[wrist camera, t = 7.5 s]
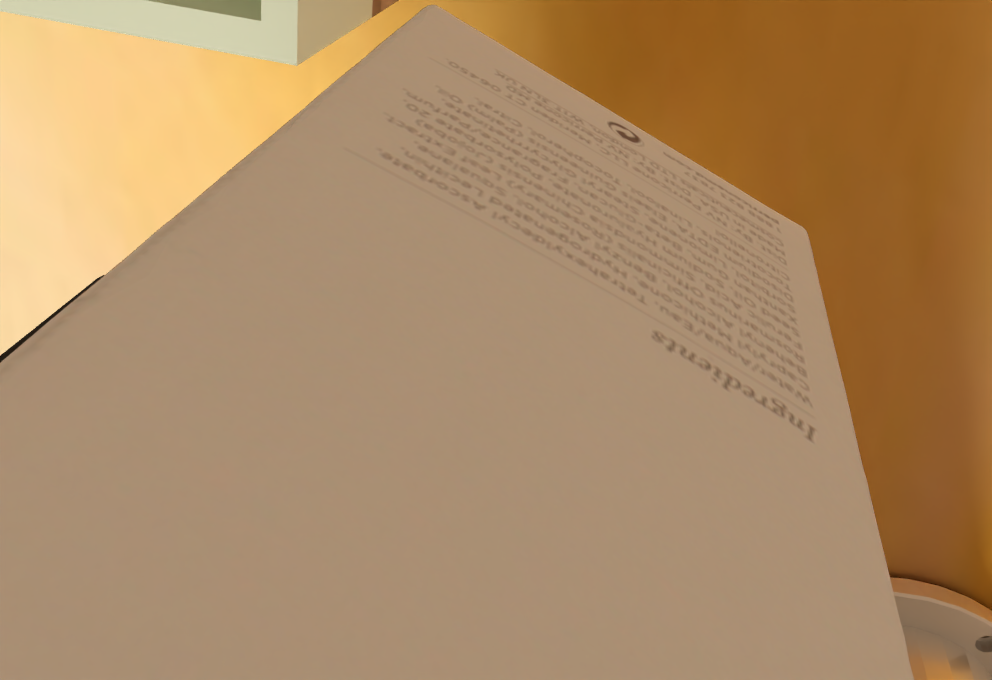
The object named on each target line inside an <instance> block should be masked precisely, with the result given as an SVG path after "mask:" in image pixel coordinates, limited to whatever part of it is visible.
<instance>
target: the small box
mask: <svg viewBox="0 0 992 680" xmlns="http://www.w3.org/2000/svg"><path fill="white" fill-rule="evenodd" d="M0 680H914V677H913V674H912V670H911V666H910V662H909V657H908V652H907V647H906V641H905V636H904V633H903V629H902V625H901V622H900V618H899V614H898V610H897V606H896V602H895V597H894V593H893V589H892V584H891V580H890V576H889V572H888V567H887V563H886V559H885V555H884V551H883V547H882V543H881V538H880V534H879V530H878V526H877V522H876V518H875V514H874V509H873V505H872V500H871V496H870V492H869V487H868V483H867V479H866V475H865V472H864V468H863V465H862V461H861V456H860V452H859V448H858V443H857V439H856V435H855V430H854V426H853V421H852V417H851V413H850V408H849V404H848V400H847V395H846V391H845V387H844V383H843V379H842V375H841V371H840V367H839V363H838V358H837V354H836V350H835V346H834V342H833V338H832V334H831V330H830V325H829V321H828V317H827V312H826V308H825V304H824V300H823V296H822V292H821V288H820V284H819V279H818V274H817V269H816V266H815V262H814V257H813V252H812V248H811V244H810V240H809V237H808V233H807V231H806V230H805V229H804V228H803V227H802V226H800V225H798V224H797V223H795V222H793V221H791V220H790V219H788V218H786V217H785V216H783V215H781V214H779V213H778V212H776V211H774V210H773V209H771V208H769V207H767V206H766V205H764V204H763V203H761V202H759V201H758V200H756V199H754V198H753V197H751V196H750V195H748V194H746V193H745V192H743V191H741V190H740V189H738V188H737V187H735V186H733V185H732V184H730V183H728V182H727V181H725V180H724V179H722V178H720V177H719V176H717V175H715V174H714V173H712V172H710V171H709V170H707V169H705V168H704V167H702V166H700V165H699V164H697V163H696V162H694V161H692V160H691V159H689V158H687V157H686V156H684V155H682V154H681V153H679V152H677V151H676V150H674V149H673V148H671V147H669V146H668V145H666V144H664V143H663V142H661V141H659V140H658V139H656V138H654V137H653V136H651V135H650V134H648V133H646V132H645V131H643V130H641V129H640V128H638V127H636V126H635V125H633V124H632V123H630V122H628V121H627V120H625V119H623V118H622V117H620V116H618V115H617V114H615V113H614V112H612V111H610V110H609V109H607V108H605V107H604V106H602V105H600V104H599V103H597V102H596V101H594V100H592V99H591V98H589V97H587V96H586V95H584V94H582V93H581V92H579V91H577V90H576V89H574V88H572V87H571V86H569V85H567V84H566V83H564V82H562V81H560V80H559V79H557V78H555V77H554V76H552V75H550V74H549V73H547V72H545V71H544V70H542V69H541V68H539V67H537V66H536V65H534V64H532V63H531V62H529V61H527V60H526V59H524V58H523V57H521V56H519V55H518V54H516V53H514V52H513V51H511V50H509V49H508V48H506V47H505V46H503V45H501V44H500V43H498V42H496V41H495V40H493V39H491V38H490V37H488V36H486V35H485V34H483V33H481V32H480V31H478V30H476V29H475V28H473V27H471V26H470V25H468V24H466V23H465V22H463V21H461V20H460V19H458V18H456V17H455V16H453V15H452V14H450V13H449V12H447V11H445V10H444V9H442V8H440V7H438V6H436V5H429V6H427V7H425V8H423V9H422V10H421V11H420V12H419V13H418V14H417V15H415V16H414V17H413V18H412V19H410V20H409V21H408V22H407V23H405V24H404V25H403V26H402V27H401V28H399V29H398V30H397V31H395V32H394V33H393V34H392V35H390V36H389V37H388V38H387V39H386V40H384V41H383V42H382V43H381V44H379V45H378V46H377V47H376V48H375V49H374V50H373V51H371V52H370V53H369V54H368V55H367V56H366V57H365V58H363V59H362V60H361V61H360V62H358V63H357V64H356V65H355V66H354V67H352V68H351V69H350V70H349V71H347V72H346V73H345V74H344V75H342V76H341V77H340V78H339V79H338V80H336V81H335V82H334V83H333V84H332V85H330V86H329V87H328V88H327V89H326V90H325V91H323V92H322V93H321V94H320V95H319V96H318V97H316V98H315V99H314V100H313V101H312V102H311V103H309V104H308V105H307V106H306V107H305V108H304V109H303V110H302V111H300V112H299V113H298V114H297V115H296V116H294V117H293V118H292V119H291V120H289V121H288V122H287V123H286V124H285V125H283V126H282V127H281V128H280V129H279V130H278V131H276V132H275V133H274V134H273V135H272V136H271V137H269V138H268V139H267V140H266V141H264V142H263V143H262V144H261V145H260V146H258V147H257V148H256V149H254V150H253V151H252V152H251V153H250V154H248V155H247V156H246V157H245V158H244V159H242V160H241V161H240V162H239V163H238V164H236V165H235V166H234V167H233V168H232V169H230V170H229V171H228V172H227V173H226V174H225V175H223V176H222V177H221V178H220V179H219V180H217V181H216V182H215V183H214V184H213V185H212V186H210V187H209V188H208V189H207V190H206V191H204V192H203V193H202V194H201V195H200V196H199V197H197V198H196V199H195V200H194V201H193V202H192V203H190V204H189V205H188V206H187V207H186V208H184V209H183V210H182V211H181V212H180V213H178V214H177V215H176V216H175V217H174V218H173V219H171V220H170V221H169V222H167V223H166V224H165V225H163V226H162V227H161V228H160V229H159V230H157V231H156V232H155V233H154V234H153V235H152V236H151V237H149V238H148V239H147V240H146V241H145V242H144V243H142V244H141V245H140V246H139V247H138V248H137V249H136V250H134V251H133V252H132V253H131V254H130V255H129V256H128V257H126V258H125V259H124V260H123V261H122V262H120V263H119V264H118V265H117V266H115V267H114V268H113V269H112V270H111V271H109V272H108V273H107V274H106V275H105V276H103V277H102V278H101V279H100V280H98V281H97V282H96V283H95V284H94V285H92V286H91V287H90V288H89V289H87V290H86V291H85V292H84V293H83V294H81V295H80V296H79V297H78V298H77V299H75V300H74V301H73V302H72V303H70V304H69V305H68V306H67V307H66V308H64V309H63V310H62V311H61V312H60V313H58V314H57V315H56V316H55V317H54V318H52V319H51V320H50V321H49V322H48V323H46V324H45V325H44V326H43V327H42V328H41V329H39V330H38V331H37V332H36V333H35V334H34V335H32V336H31V337H30V338H29V339H28V340H26V341H25V342H24V343H23V344H22V345H21V346H19V347H18V348H17V349H16V350H15V351H14V352H12V353H11V354H10V355H9V356H8V357H6V358H5V359H4V360H3V361H2V362H1V363H0Z"/></svg>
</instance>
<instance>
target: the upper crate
mask: <svg viewBox="0 0 992 680" xmlns="http://www.w3.org/2000/svg"><path fill="white" fill-rule="evenodd" d="M372 5H373V0H0V11H3V12H8V13H14V14H19V15H24V16H30V17H35V18H41V19H46V20H52V21H57V22H62V23H68V24H73V25H79V26H84V27H90V28H95V29H100V30H106V31H111V32H117V33H122V34H128V35H133V36H138V37H144V38H149V39H155V40H160V41H166V42H171V43H176V44H182V45H187V46H193V47H198V48H204V49H209V50H215V51H220V52H225V53H231V54H236V55H242V56H247V57H253V58H258V59H263V60H269V61H274V62H280V63H285V64H291V65H296V66H297V65H299V64H300V63H302V62H303V61H305V60H306V59H308V58H310V57H311V56H313V55H314V54H316V53H317V52H319V51H320V50H322V49H324V48H325V47H327V46H328V45H330V44H331V43H333V42H334V41H336V40H338V39H339V38H341V37H342V36H344V35H345V34H347V33H348V32H350V31H352V30H353V29H355V28H356V27H358V26H359V25H361V24H362V23H364V22H366V21H367V20H369V19H370V18H372Z"/></svg>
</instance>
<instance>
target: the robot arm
mask: <svg viewBox="0 0 992 680" xmlns="http://www.w3.org/2000/svg"><path fill="white" fill-rule="evenodd" d="M103 276H105V275H103ZM103 276H101V277H99V278H97V279H96V280H95V281H93V282H92V283H91V284H90V285H88V286H87V287H86V288H85V289H83V290H82V291H81V292H80V293H78V294H77V295H76V296H75V297H73V298H72V299H71V300H70V301H68V302H67V303H66V304H65V305H63V306H62V307H61V308H60V309H58V310H57V311H56V312H55V313H53V314H52V315H51V316H50V317H48V318H47V319H46V320H45V321H43V322H42V323H41V324H40V325H38V326H37V327H36V328H35V329H33V330H32V331H31V332H30V333H28V334H27V335H26V336H25V337H23V338H22V339H21V340H20V341H18V342H17V343H16V344H15V345H13V346H12V347H11V348H9V349H8V350H7V351H6V352H4V353H3V354H2V355H1V356H0V363H1V362H2V361H3V360H4V359H5V358H6V357H8V356H9V355H10V354H11V353H12V352H14V351H15V350H16V349H17V348H18V347H19V346H21V345H22V344H23V343H24V342H25V341H26V340H28V339H29V338H30V337H31V336H32V335H34V334H35V333H36V332H37V331H38V330H39V329H41V328H42V327H43V326H44V325H45V324H46V323H48V322H49V321H50V320H51V319H52V318H54V317H55V316H56V315H57V314H58V313H60V312H61V311H62V310H63V309H64V308H66V307H67V306H68V305H69V304H70V303H72V302H73V301H74V300H75V299H77V298H78V297H79V296H80V295H81V294H83V293H84V292H85V291H86V290H87V289H89V288H90V287H91V286H92V285H94V284H95V283H96V282H97V281H98V280H100V279H101V278H102V277H103ZM890 580H891V584H892V589H893V593H894V597H895V602H896V606H897V610H898V614H899V618H900V622H901V625H902V629H903V633H904V636H905V641H906V647H907V652H908V657H909V662H910V666H911V670H912V674H913V677H914V680H992V611H991V610H990V609H988V608H986V607H985V606H983V605H981V604H979V603H978V602H976V601H974V600H973V599H971V598H969V597H967V596H964V595H962V594H959V593H957V592H954V591H951V590H949V589H946V588H944V587H941V586H937V585H933V584H929V583H924V582H920V581H915V580H911V579H904V578H893V577H890Z"/></svg>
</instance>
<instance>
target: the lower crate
mask: <svg viewBox="0 0 992 680" xmlns="http://www.w3.org/2000/svg"><path fill="white" fill-rule="evenodd" d="M397 1H398V0H373V5H372V17H373V16H375V15H376V14H378V13H380V12H381V11H383V10H384V9H386V8H387V7H389V6H390V5H392V4H394V3H395V2H397Z"/></svg>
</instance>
